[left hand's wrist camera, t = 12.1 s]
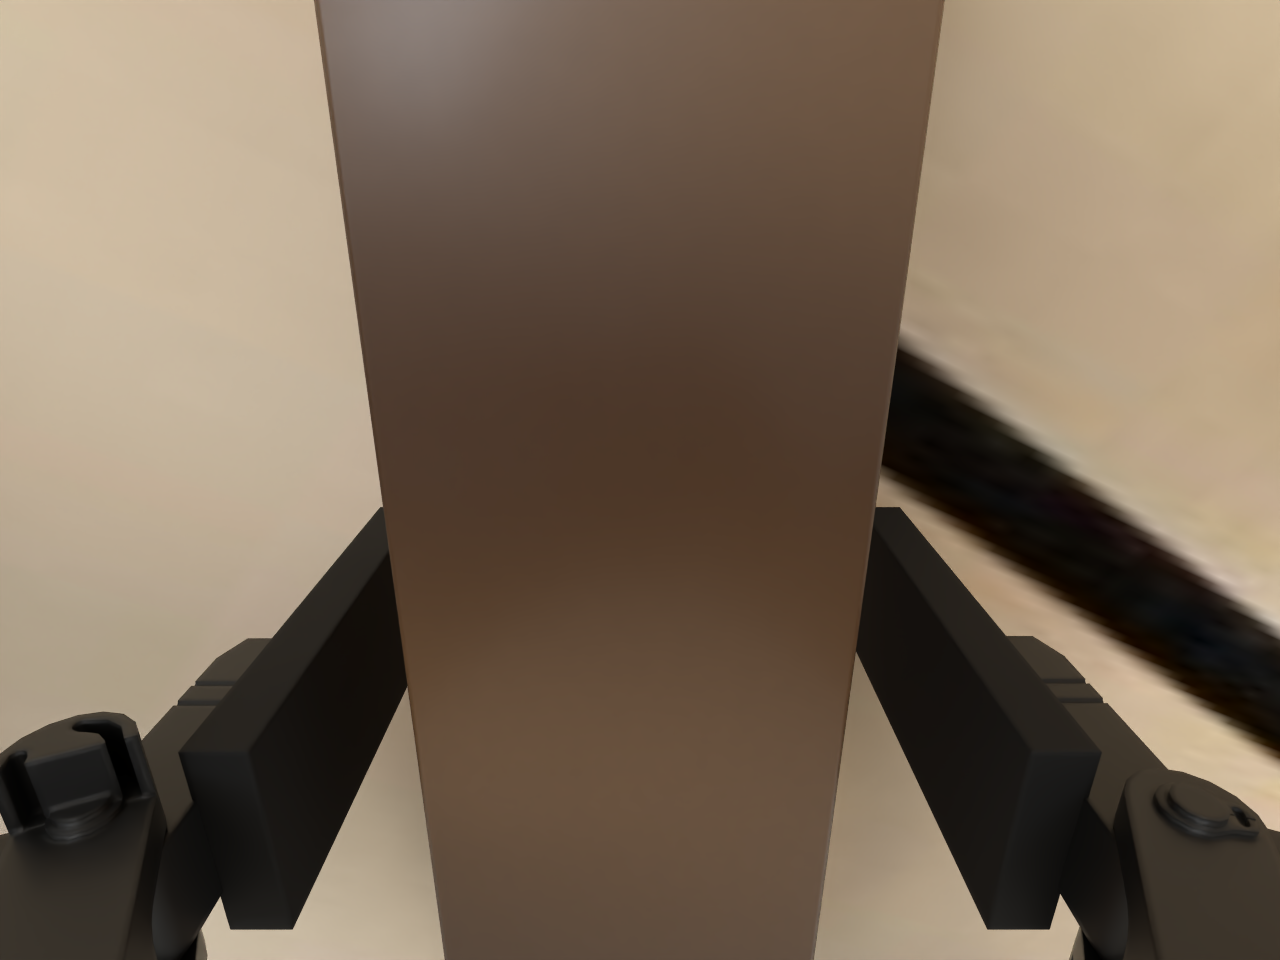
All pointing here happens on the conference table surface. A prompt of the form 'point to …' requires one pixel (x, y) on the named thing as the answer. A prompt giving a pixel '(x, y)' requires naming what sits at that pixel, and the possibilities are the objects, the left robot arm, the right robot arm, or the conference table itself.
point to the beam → (629, 438)
